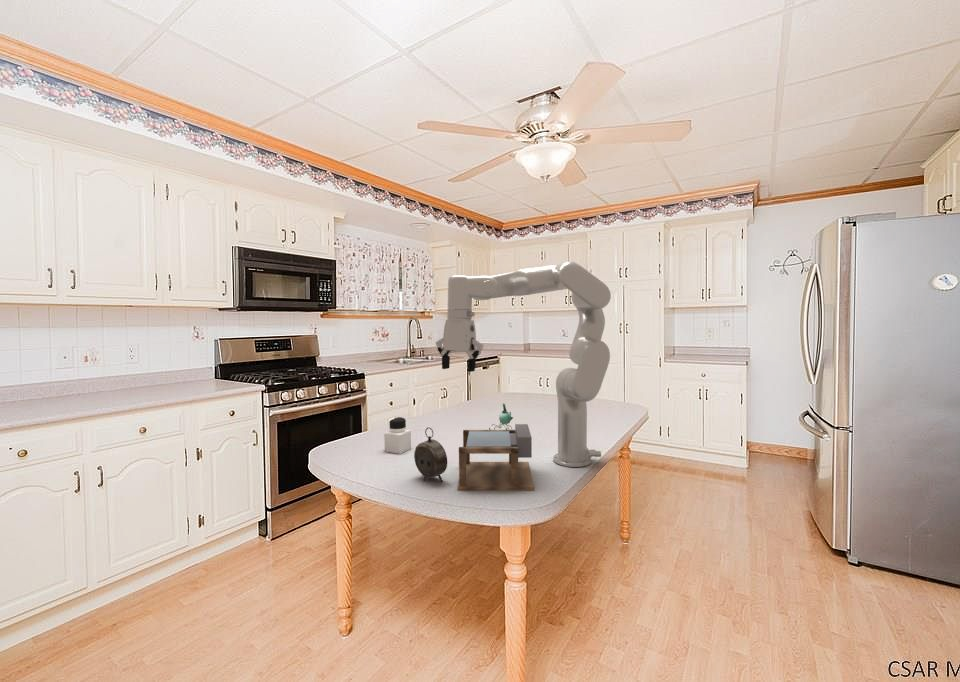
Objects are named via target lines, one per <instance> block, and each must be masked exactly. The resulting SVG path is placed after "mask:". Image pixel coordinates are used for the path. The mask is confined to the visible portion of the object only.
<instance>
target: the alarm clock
mask: <svg viewBox="0 0 960 682" xmlns="http://www.w3.org/2000/svg"><path fill="white" fill-rule="evenodd" d="M429 429H430V431H431V433H432V435H431V436H430V435H429V436H428V434H427V430H429ZM424 433H425V434H424V435H425V436H426V438H427V440H424V441H423V442H420V443H418V444H417V446H416V447H415V449H414V452H413V455H414V456H413V458H414V463H415V466H416V468H417V470H418V472H419V473H420V474H421V475H422V476H423V482H426V479H427V478H428V479H432V478H435V477H438V479H439V480H440V483H443V482H444V481H443V479H442V476H441V475H442V474H444V473H445V472H446V470H447V468H448V456H447V452H446V450H445V448H444V446H443V445H442V444H441V443H440V442H439V441H438V440H436V439H432V438H433V437H434V430H433V428H432V427H428V426H427V427H426V429H425V431H424Z"/></svg>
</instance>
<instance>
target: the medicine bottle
mask: <svg viewBox="0 0 960 682" xmlns="http://www.w3.org/2000/svg"><path fill="white" fill-rule="evenodd" d="M406 422H407V420H406V418H404V417H399V416H398V417H397V416H396V417H391V418H390V419H389V420H388V429H389V430H387V431H385V432H384V433H383V438H384V445H383V446H384V452H385V453H393V454H396V455H397V454H400V455H401V454H403V453H405V452H407V451H409V450H410V449H412V433H411V432H412V431H411V429H406V428H407V426H406V425H407V424H406Z"/></svg>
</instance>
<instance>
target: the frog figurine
mask: <svg viewBox="0 0 960 682" xmlns="http://www.w3.org/2000/svg"><path fill="white" fill-rule="evenodd" d="M502 407H503V408H502V409H503V410H502V411H501V413H500V414H499V418H498V420H499V425H496V424H495V423H492V425H491V427H492V426H495V427H494V428H493V430H496V427H497V428H499V429H502V426H503V427H504V428H505V430H513V427H512V426H511V425H509V424H510V423H511V421H512V420H513V419H514V417H513V416H512V412H511V411H509V412H508V410H507V408H506V404H505V403H502ZM491 427H489V429H488V430H491ZM506 427H507V428H506ZM509 427H510V428H511V429H510V428H509Z"/></svg>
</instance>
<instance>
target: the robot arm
mask: <svg viewBox="0 0 960 682" xmlns="http://www.w3.org/2000/svg"><path fill="white" fill-rule="evenodd" d="M563 290H569V291H570V292H571V302H572V304H573V306H574V307H575V309H576V311H577V313H578V317H579V318H578V325H577V329H576V332H575V333H574V337H573V339H572V343H571V346H570V348H569V352H568V354H569V359H570V360H571V362H572V363H573V364H575V365H578V366H577V368H574V367H568V368H564V369H562V370H561V371H559V373H558V374H557V376H556V380H555V390H556V398H557V453H555V454H554V455H553V458H552V459H553V462H554V463H556V464H557V465H560V466H563V467H569V468H570V467H571V468H582V467H587V466H588V465H590V464H591V463H592V457H594V458H601V457H602V451H601V450H596V449H589V448H588V445H587V443H588V441H587V438H588V437H587V434H588V429H587V428H588V423H587V422H588V408H587V403H588V402H590V401H592V400H594V399H595V398H596V397H597V396H598V394H599V392H600V390H601V388H602V384H603V382H604V379H605V376H606V374H607V370H608V367H609V364H610V360H611V352H610V348H609V347H608V345H607V344H606V343H605V342H604V341H603V340H602V339H603V338H602V337H603V334H604V330H605V326H606V319H605V318H606V317H605V315H604V311H603V309H604V308H605V307H607V306H608V304H609V303H610V301H611V298H612V294H611V290H610V288H609V287H608V286H607V284H605V283H604V282H603V281H601V279H600V278H599V277H596V276H595V275H593V274H592V273H591V272H590V271H589V270H587V269H586V268H584V267H583V266H582V265H580V264H578V263H577V262H574V261H565V262H561V263H555V264H548V265H541V266H535V267H534V266H533V267H526V268H522V269H518V270H513V271H510V272H506V273H503V274H502V273H501V274H496V275H487V274H485V275H475V276H474V275H473V276H469V275H462V274H454V275H451V276H449V277H448V281H447V319H445V322H444V327H443V334H442V338H441V339H438V340H437V341H436V342H435V346H436V348H437V351H438V352H439V355H440V357H441V370H447V369H450V358H451V357H450V353H451V352H457V353H466V354H467V356H468V358H467V372H468V373H470V372H475V371H476V366H477V365H476V359H478V357H479V356H480V355H481V352H482V350H483V349H484V344H482V343H481V342H480V341H478V340H477V333H476V332H477V330H476V325H475V320H473V317H475V314H476V313H475V312H473V310H472V308H473V299H474V300H476V301H488V300H491V299H498V298H505V297H513V296H514V297H518V296H519V297H521V296H522V297H523V296H530V295H536V294H537V295H538V294H542V293H543V294H544V293H548V292H555V291H563Z"/></svg>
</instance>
